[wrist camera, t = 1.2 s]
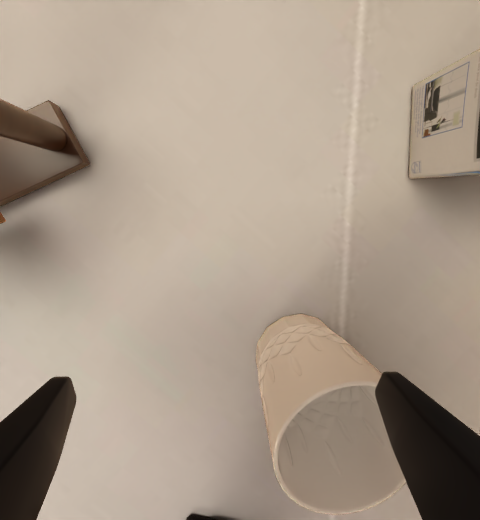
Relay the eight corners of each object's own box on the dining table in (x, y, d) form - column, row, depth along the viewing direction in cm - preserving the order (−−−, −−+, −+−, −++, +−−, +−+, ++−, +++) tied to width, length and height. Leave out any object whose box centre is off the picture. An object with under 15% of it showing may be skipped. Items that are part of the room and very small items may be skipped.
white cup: (228, 356, 24) (240, 464, 14) (296, 286, 23) (356, 350, 14) (295, 409, 26) (346, 538, 16) (360, 345, 25) (454, 440, 15)
